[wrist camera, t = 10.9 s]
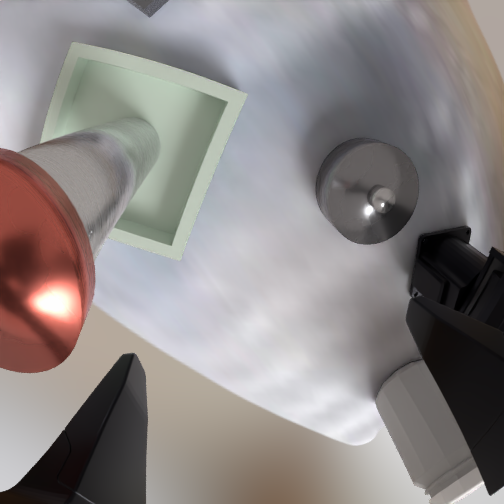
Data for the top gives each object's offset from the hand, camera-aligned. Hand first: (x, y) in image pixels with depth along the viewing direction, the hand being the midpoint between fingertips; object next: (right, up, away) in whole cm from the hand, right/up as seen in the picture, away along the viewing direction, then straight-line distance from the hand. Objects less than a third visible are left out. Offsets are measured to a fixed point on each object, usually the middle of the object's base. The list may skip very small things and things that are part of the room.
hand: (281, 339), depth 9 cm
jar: (+19, -14, +25) cm, 34 cm away
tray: (-8, +9, +9) cm, 15 cm away
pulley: (+7, +7, +12) cm, 16 cm away
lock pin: (-8, +9, +8) cm, 14 cm away
